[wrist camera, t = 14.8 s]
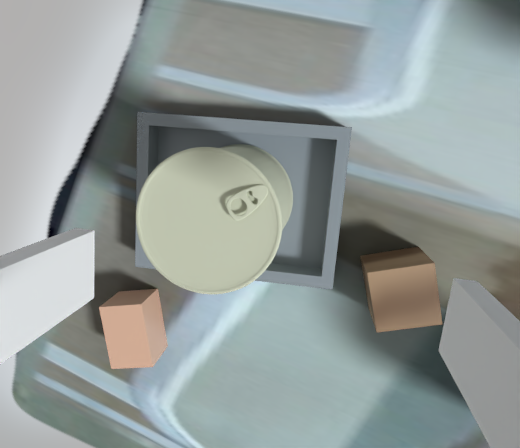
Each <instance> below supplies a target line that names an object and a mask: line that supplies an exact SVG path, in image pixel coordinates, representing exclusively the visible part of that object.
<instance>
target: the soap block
mask: <svg viewBox="0 0 520 448" xmlns="http://www.w3.org/2000/svg"><path fill="white" fill-rule="evenodd" d="M99 310H100V315H101V320H102V325H103V330H104V335H105V339H106V344H107V349H108V354H109V359H110V364H111V369H118V368H141V367H153V366H154V365H155V363H156V362H157V360H158V359H159V358H160V356H161V355H162V353H163V352H164V351H165V349H166V348H167V346H168V345H167V339H166V333H165V328H164V322H163V316H162V310H161V305H160V299H159V293H158V289H146V290H133V291H120V292H118V293H116V294H115V295H114V296H113V297H111V298H110V299H109V300H107V301H106V302H105V303H104V304H102V305H101V306H100V307H99Z"/></svg>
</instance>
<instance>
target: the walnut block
mask: <svg viewBox="0 0 520 448" xmlns="http://www.w3.org/2000/svg"><path fill="white" fill-rule="evenodd" d="M360 258H361V264H362V270H363V276H364V283H365V289H366V295H367V301H368V307H369V311H370V314H371V317H372V320H373V323H374V326H375V329H376V332H385V331H393V330H401V329H409V328H417V327H425V326H433V325H442V317H441V309H440V301H439V294H438V286H437V278H436V270H435V263H434V262H433V261H432V260H431V259H430V258H429V257H428V256H427V255H426V254H425V253H424V252H423V251H422V250H421V249H420V248H419V247H413V248H407V249H400V250H394V251H387V252H381V253H374V254H368V255H361V256H360Z"/></svg>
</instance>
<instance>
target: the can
mask: <svg viewBox="0 0 520 448" xmlns="http://www.w3.org/2000/svg"><path fill="white" fill-rule="evenodd" d="M292 206H293V191H292V186H291V182H290V179H289V177H288V175H287V173H286V171H285V169H284V168H283V166H282V165H281V164H280V163H279V162H278V161H277V159H276V158H274V157H273V156H272V155H271V154H269V153H268V152H266V151H264V150H262V149H260V148H258V147H255V146H251V145H245V144H234V145H228V146H224V147H221V148H215V147H196V148H190V149H187V150H183V151H180V152H178V153H176V154H174V155H172V156H170V157H168V158H167V159H165V160H164V161H163V162H161V163H160V164H159V165H158V166H157V167H156V168H155V169H154V170H153V171H152V172H151V174H150V175H149V176H148V178H147V179H146V181H145V183H144V185H143V186H142V189H141V191H140V194H139V197H138V201H137V207H136V227H137V233H138V237H139V240H140V243H141V246H142V248H143V250H144V252H145V254H146V256H147V258H148V259H149V261H150V262H151V263H152V265H153V266H154V267H155V268H156V269H157V270H158V271H159V272H160V273H161V274H162V275H163V276H164V277H165V278H167V279H168V280H169V281H171V282H172V283H174V284H176V285H178V286H180V287H182V288H184V289H187V290H190V291H193V292H197V293H202V294H223V293H228V292H232V291H235V290H238V289H241V288H243V287H245V286H247V285H248V284H250V283H252V282H253V281H254V280H256V279H257V278H258V277H259V276H260V275H261V274H262V273H263V272H264V271H265V270H266V269H267V268H268V266H269V265H270V264H271V262H272V260H273V259H274V257H275V255H276V252H277V250H278V248H279V244H280V240H281V235H282V230H283V228H284V227H285V225H286V223H287V222H288V220H289V217H290V214H291V211H292Z"/></svg>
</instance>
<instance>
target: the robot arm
mask: <svg viewBox="0 0 520 448" xmlns="http://www.w3.org/2000/svg"><path fill="white" fill-rule="evenodd" d="M93 298H94V230H87V229H80V228H74V229H72V230H69V231H66V232H64V233H61V234H58V235H56V236H53V237H50V238H48V239H45V240H42V241H40V242H37V243H34V244H31V245H29V246H26V247H23V248H21V249H18V250H15V251H13V252H10V253H7V254H5V255H2V256H0V364H1V363H3V362H4V361H6V360H7V359H9V358H10V357H11V356H12V355H14V354H16V353H17V352H18V351H20V350H21V349H23V348H24V347H25V346H27V345H28V344H30V343H31V342H33V341H34V340H35V339H37V338H38V337H40V336H41V335H42V334H44V333H45V332H47V331H48V330H49V329H51V328H52V327H54V326H55V325H57V324H58V323H59V322H61V321H62V320H64V319H65V318H66V317H68V316H69V315H71V314H72V313H73V312H75V311H76V310H78V309H79V308H81V307H82V306H83V305H85V304H86V303H88V302H89V301H90V300H92V299H93ZM438 351H439V353H440V355H441V357H442V358H443V360H444V362H445V364H446V366H447V368H448V370H449V371H450V373H451V375H452V377H453V379H454V381H455V383H456V384H457V386H458V388H459V390H460V392H461V394H462V396H463V397H464V399H465V401H466V403H467V405H468V407H469V409H470V410H471V412H472V414H473V416H474V418H475V420H476V422H477V423H478V425H479V427H480V429H481V431H482V433H483V435H484V436H485V438H486V440H487V442H488V444H489V446H490V448H520V321H519V320H518V319H517V318H516V317H515V316H514V315H513V314H512V313H510V312H509V311H508V310H507V309H506V308H505V307H504V306H503V305H502V304H501V303H500V302H499V301H498V300H497V299H496V298H495V297H493V296H492V295H491V294H490V293H489V292H488V291H487V290H486V289H485V288H484V287H483V286H482V285H481V284H480V283H479V282H478V281H473V280H465V279H458V278H453V283H452V288H451V292H450V297H449V302H448V307H447V312H446V317H445V321H444V326H443V331H442V336H441V341H440V345H439V350H438Z"/></svg>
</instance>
